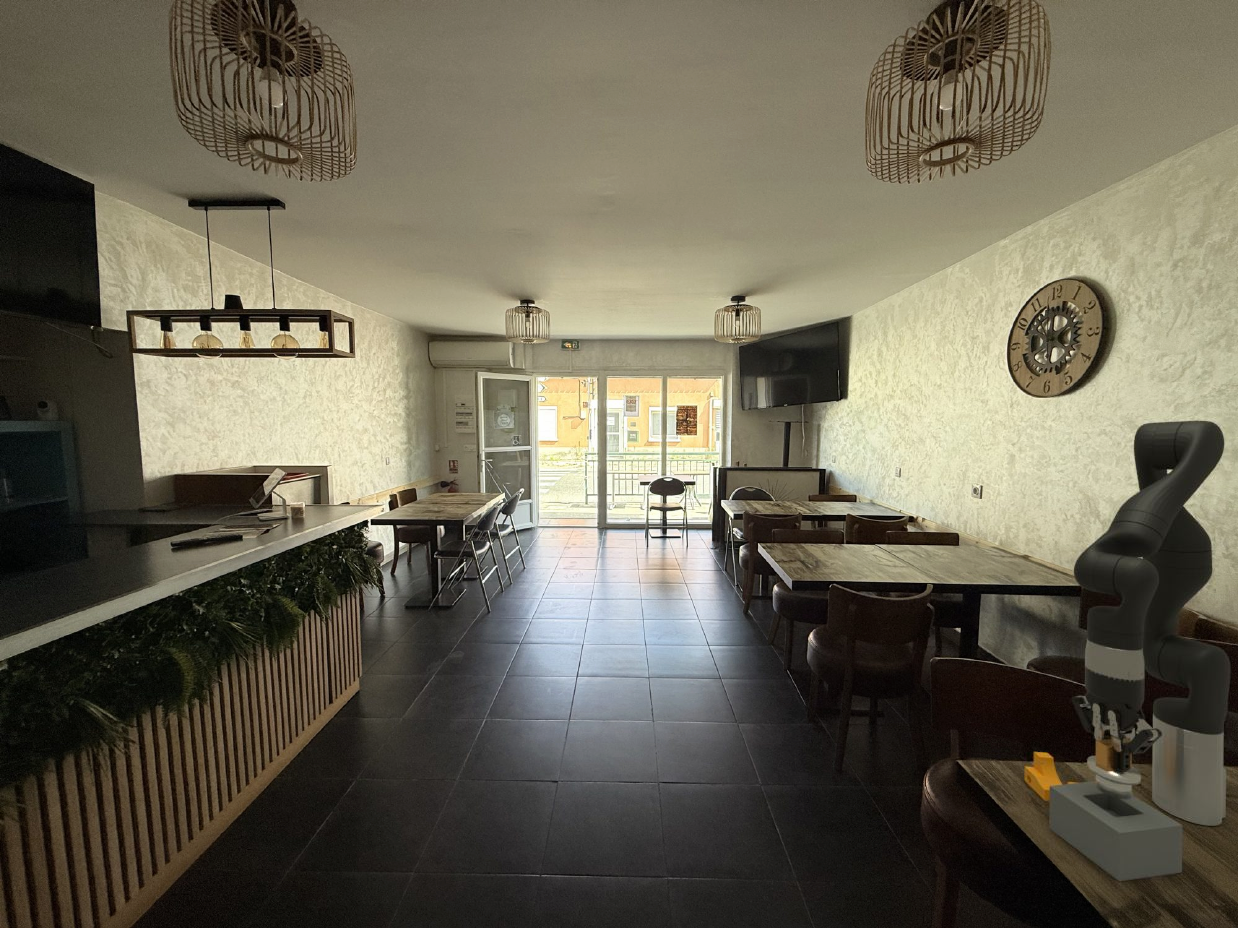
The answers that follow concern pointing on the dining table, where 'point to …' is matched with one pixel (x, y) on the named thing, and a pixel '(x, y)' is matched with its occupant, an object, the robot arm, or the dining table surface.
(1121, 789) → the end cover
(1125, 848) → the bearing housing
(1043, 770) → the pipe clamp
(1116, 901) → the dining table surface
